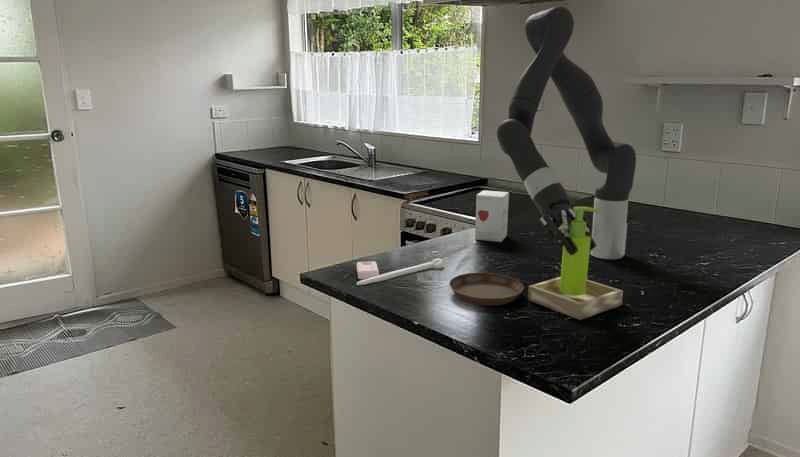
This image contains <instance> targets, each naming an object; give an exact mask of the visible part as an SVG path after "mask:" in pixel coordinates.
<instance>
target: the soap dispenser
mask: <svg viewBox="0 0 800 457" xmlns="http://www.w3.org/2000/svg"><path fill="white" fill-rule="evenodd" d="M572 208H573V210H574V211H576V215H575V220H573V221H571V228H570V229H569V230H570V231H569V233H568V234H569V236H568V237H571V239H572V240H573V242H574V244H575V245H576V247H577V248H578V252H576V253H575V254H574V255H570V254H569V253H568V252H567V250H566V249H565V247H564V246H563V245H562V256H561V268H560V276H559V277H560V288H559V290H560V292H562V293H564V294H567V295H575V296H578V295H584V294H585V293H586V283H587V280H588V270H589V260H590V252H591V250H590V242H591V238H590V237H589V236H586V235H585V234H586V226H587V225H586V222H585V221H584V220H583V213H584V211H585V212H592V213H594V212H596V213H597V212H599V211H598V209H595V208H594V207H589V206H572Z"/></svg>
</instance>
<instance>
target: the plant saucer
mask: <svg viewBox="0 0 800 457" xmlns="http://www.w3.org/2000/svg"><path fill="white" fill-rule="evenodd" d="M448 284H449V285H448V286H449V287H450V288H451V290H452V292H453V293H454V294H455V296H456V297H457V298H458V299H459V300H461V301H463V302H465V301H466V303H468V302H469V304H472V305H476V306H477V305H478V306H488V307H489V306H492V307H493V306H501V305H505V304H509V303H512V302H513V301H514V300H516V299H517V298H518V297H519V296H520V294H521V293H522V292H523V291H524V285H523V283H522V282H520V280H518V279H516V278H513V277H511V276H508V275H504V274H500V273H495V272H469V273H464V274H460V275H457V276H456V275H455V276H454V277H453V278H451V279H450V280H449V283H448Z"/></svg>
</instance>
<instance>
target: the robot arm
mask: <svg viewBox="0 0 800 457" xmlns="http://www.w3.org/2000/svg"><path fill="white" fill-rule="evenodd" d="M574 28H575V22H574V18H573V14H572V13H571V11H570V10H569V9H568V8H566V7H565V6H560V5H559V6H555V7H554V6H553V7H551V8H547V9H545V10H541V11H539V12H537V13H533V14H532V15H530V16H529V17H528V18H527V19H526V21H525V25H524V30H525V36H526V39H527V41H528V43H529V45H530V46H531V48H532V50H533V52H534V53H535V55H536V56H535V57H534V59H533V60H532V62H530V64H529V65H528V66H527V68H526V69H525V70H524V72H523V73H522V75H521V76H520V77H519V79H518V81H517V83H516V84H515V88H514V90H513V92H512V96H511V99H510V101H509V105H508V119H505V120H503V121H501V123H500V124H499V126H498V128H497V130H496V137H497V141H498V143H499V146H500V149H501V150H502V152H503V153H504V154H505V155H507V156H508V158H510V160H511V161H512V164H513V166H514V169H515V171H516V174H517V175H518V176H519V179H521V182H522V183H523V184H524V186H525V189H526V191H527V193H528V195H529V197H530V198H531V199H532V201H533V203H534V205H535V206H536V208H537V209H538V212H540V214H541V215H542V216H541V218H539V219H538V224H539V225H540V226H541V227H542V228H543V230H544V231H545V233H546V234H547V235H548V236H549V238H550V239H551V241H553V242H555V241H558V242H559V243H561V244H562V247H563V246H564V247H565V249H566V250H567V252H568V253H569V254H570V255H574V254H575V253H576V252H578V248H577V247H576V245H575V244H574V242H573V240H572V239H571V237H568V236H569V234H570V233H569V231H568V229H569V230H570V228H571V221H573V220H575V215H576V211H574V210H573V206H571V205H570V200H571V197H570V195H569V194H568V192H567V191H566V189H565V188H564V186H563V185H562V182H561V181H560V180H559V179H558V177H557V175H556V174H555V173H554V171H553V170H552V169H551V168H550V166H549V165H548V164H547V162H546V161H545V159H544V158H543V156H542V154H541V153H540V152H539V151H538V149H537V147H536V144H535V143H534V141H533V138H532V137H531V136H532V131H533V127H534V122H535V117H536V115H537V112H538V109H539V106H540V103H541V101H542V98H543V94H544V91H545V89H546V86H547V84H548V82H549V80H550V78H551V80H552V82H553V84H554V86H555V88H556V89H557V91H558V92H559V95H560V97H561V99H562V103H564V106H565V107H566V109H567V112H569V115H570V116H571V118H572V120H573V122H574V124H575V126H576V128H577V130H578V132H579V135H580V136H581V137H582V140H583V143H584V145H585V147H586V150H587V153H588V156H589V159H590V161H591V163H592V165H593V166H594V168H595V169H596V170H597V171H598V172H600V173H602V174H606V177H605V178H606V179H605V183H604V184H602V185H599V186H596V188H595V191H594V199H593V202H594V203H593V208H595V209H598V211H599V212H597V213H596V212H592V213H593V214H592V216H593V217H592V223H591V221H590V219H589V216H588V215H587V213H586V211H584V213H583V220H584V221H585V222H586V234H585V235H586V236H589V237H590V238H591V242H590V252H589V255H591V256H593V257H594V258H598V259H603V260H619V259H622V258H623V257H624V256H625V255H626V245H627V244H626V243H627V234H628V223H627V217H628V207H629V206H628V205H629V196H630V193H631V190H632V189H633V186H634V179H635V171H636V165H637V156H636V151H635V149H634V147H633V145H630V144H629V143H624V142H616V141H613V140H612V139H611V137H610V136H609V134H608V132H607V130H606V128H605V125H604V122H603V111H604V104H603V103H604V102H603V98H602V95H601V93H600V91H599V89H598V87H597V85H596V83H595V81H594V79H593V77H592V76H591V75H590V74H589V73H587V71H585V70H584V69H583V68H582V67H580V66H579V65H577V64H576V63H575V62H573V61H572V60H571V59H570V58H568V57H567V55H565V53H564V52H565V49H566V47H567V45H568V44H569V41H570V39H571V38H572V34H573V33H574ZM552 230H553V231H552ZM590 231H591V233H590ZM553 232H554V233H553Z"/></svg>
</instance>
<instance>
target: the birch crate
mask: <svg viewBox="0 0 800 457" xmlns="http://www.w3.org/2000/svg"><path fill="white" fill-rule="evenodd" d="M560 277H561V276H558V277H555V278H551V279H548V280H545V281H542V282H538V283H537V282H536V283H535V284H531V285H528V289H527V291H528V294H527V301H530V302H532V303H535V304H537V305H539V306H543V307H545V308H548V309H550V310H553V311H555V312H557V313H561V314H564V315H567V316H569V317H572V318H574V319H577V320H579V321H581V320H584V319H587V318H590V317H593V316H595V315H598V314H600V313H603V312H606V311H610V310H613V309H615V308H618V307H620V306H622V305H623V296H624V291H623V290H622V289H619V288H616V287H613V286H609V285H606V284H603V283H600V282H596V281H593V280H592V279H591V280H590V279H587V283H586V293H585V294H584V295H578V296H575V295H567V294H564V293H562V292H560V290H559V288H560Z"/></svg>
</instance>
